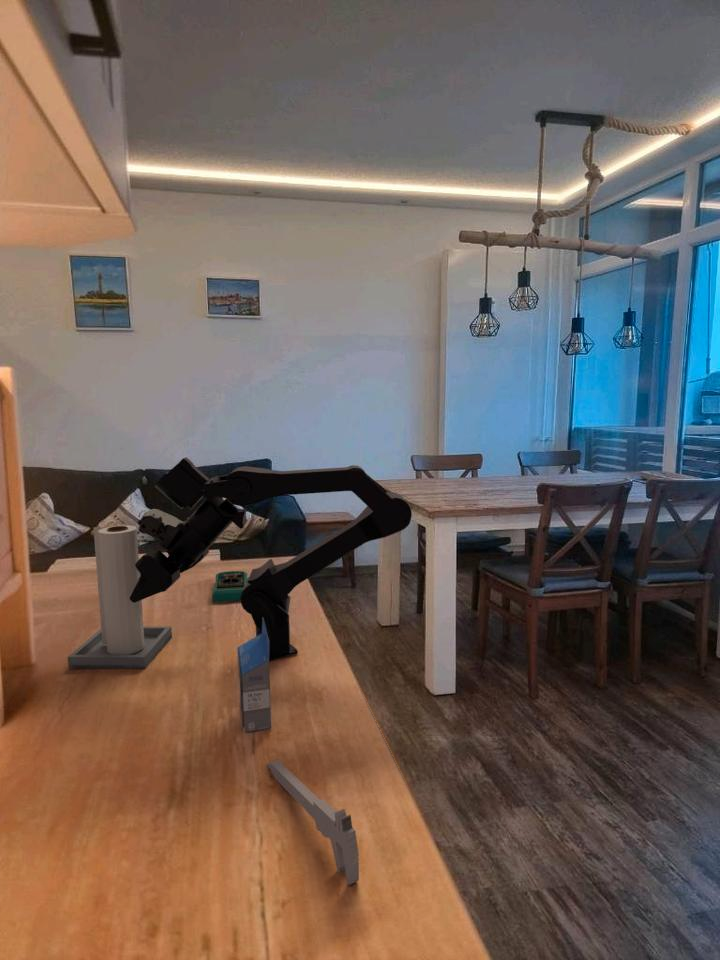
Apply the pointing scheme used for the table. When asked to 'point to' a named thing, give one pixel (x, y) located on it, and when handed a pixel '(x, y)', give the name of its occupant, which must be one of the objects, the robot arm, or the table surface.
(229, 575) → the digital multimeter
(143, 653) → the tray
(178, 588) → the table surface
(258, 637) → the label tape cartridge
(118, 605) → the paper towel roll
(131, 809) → the table surface
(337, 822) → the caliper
